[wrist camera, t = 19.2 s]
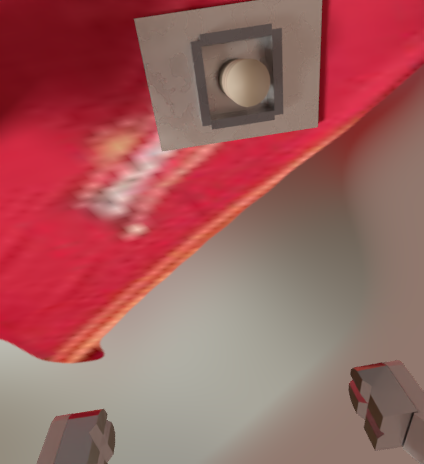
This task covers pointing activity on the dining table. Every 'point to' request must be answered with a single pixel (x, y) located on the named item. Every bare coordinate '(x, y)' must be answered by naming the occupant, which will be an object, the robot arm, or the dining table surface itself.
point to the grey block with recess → (221, 50)
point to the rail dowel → (244, 81)
